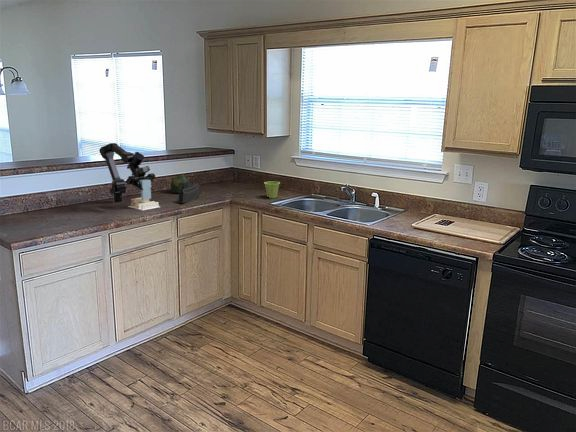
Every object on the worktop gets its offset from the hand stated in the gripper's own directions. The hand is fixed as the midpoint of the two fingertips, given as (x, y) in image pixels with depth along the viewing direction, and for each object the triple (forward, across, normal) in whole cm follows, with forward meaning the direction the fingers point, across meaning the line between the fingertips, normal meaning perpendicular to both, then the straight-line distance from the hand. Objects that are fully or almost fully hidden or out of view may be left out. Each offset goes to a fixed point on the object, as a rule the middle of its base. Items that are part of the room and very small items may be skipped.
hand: (147, 189), depth 286 cm
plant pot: (+32, +86, -13) cm, 93 cm away
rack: (+7, 0, +12) cm, 14 cm away
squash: (-11, +51, +31) cm, 61 cm away
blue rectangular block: (+4, 0, +6) cm, 7 cm away
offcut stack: (+3, 0, +14) cm, 14 cm away
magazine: (+7, +38, +12) cm, 41 cm away
